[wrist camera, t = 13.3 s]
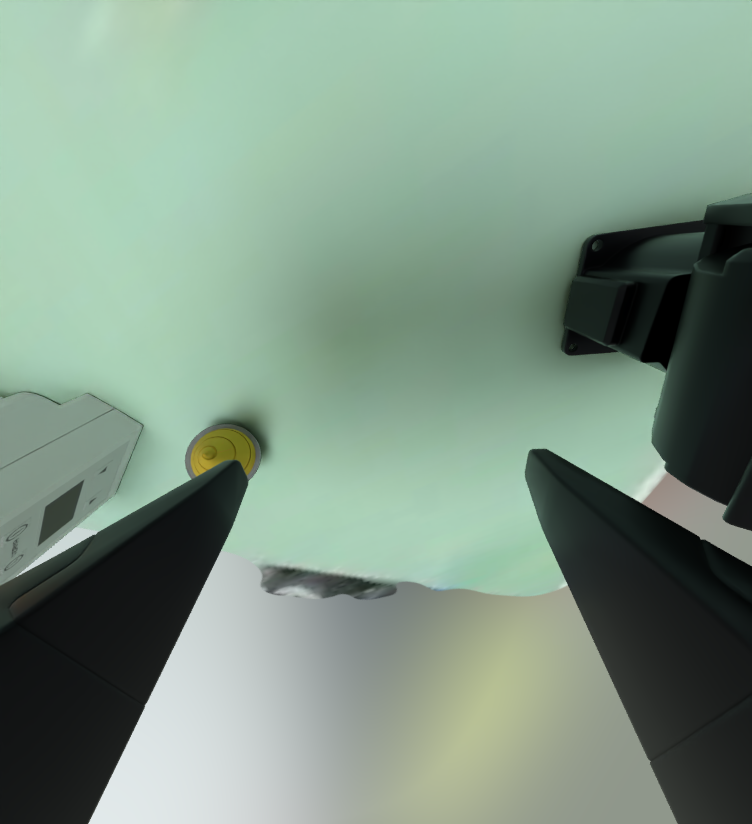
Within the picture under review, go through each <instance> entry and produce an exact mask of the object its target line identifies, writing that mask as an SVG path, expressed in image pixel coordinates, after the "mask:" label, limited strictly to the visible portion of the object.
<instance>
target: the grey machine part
mask: <svg viewBox="0 0 752 824" xmlns="http://www.w3.org/2000/svg"><path fill="white" fill-rule="evenodd" d="M142 427H143V425H141V424H140V423H138V422H136V421H135V420H133V419H131V418H130V417H128V416H127V415H125V414H123V413H122V412H120V411H118V410H117V409H114V408H113V407H111V406H110V405H108V404H106V403H104V402H102V401H101V400H99V399H97V398H95V397H93V396H91V395H90V394H88V393H86V394H84V395H82V396H80V397H77V398H75V399H73V400H70V401H68V402H66V403H64V404H61V405H58V404H56V403H54V402H52V401H50V400H48V399H46V398H44V397H42V396H39V395H37V394H33V393H28V392H20V393H17V394H14V395H12V396H9V397H6V398H2V397H0V585H2V584H4V583H6V582H8V581H10V580H12V579H13V578H15V577H16V576H17V575H18V574H19V573H21V572H22V571H23V570H24V569H26V567H28V566H29V565H30V564H32V563H33V562H34V561H35V560H36V559H38V558H39V557H40V556H41V555H43V554H44V553H45V552H46V551H47V550H49V549H50V548H51V547H52V546H53V545H55V543H57V542H58V541H59V540H61V539H62V538H63V537H64V536H65V535H67V534H68V533H69V532H70V531H72V530H73V529H74V528H75V527H76V526H78V525H79V524H80V523H81V522H82V521H84V520H85V519H86V518H87V517H89V516H90V515H91V514H92V513H93V512H95V511H96V510H97V509H98V508H99V507H101V506H102V505H103V504H104V503H105V502H107V501H108V500H109V499H110V498H112V497H113V496H114V495H115V494H116V491H117V489H118V486H119V484H120V481H121V479H122V476H123V474H124V471H125V469H126V467H127V464H128V462H129V459H130V457H131V454H132V452H133V449H134V447H135V444H136V442H137V440H138V437H139V435H140V432H141V430H142Z"/></svg>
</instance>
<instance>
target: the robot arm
mask: <svg viewBox="0 0 752 824" xmlns="http://www.w3.org/2000/svg"><path fill="white" fill-rule="evenodd" d="M595 241H598V247H597V248H596V249H595V250H593V249H592V245H593V243H594V242H595ZM564 326H565V327H566V328H565V333H564V338H563V342H562V351H563V352H564V353H565V354H567V355H571V356H573V355H585V354H598V353H611V352H621V353H623V354H625V355H627V356H629V357H632V358H634V359H636V360H638V361H640V362H642V363H646V364H648V365H650V366H653V367H655V368H657V369H659V370H661V371H663V372H666V376H665V380H664V384H663V388H662V392H661V396H660V400H659V404H658V407H657V408H656V412H655V416H654V418H655V419H654V423H653V427H652V444H653V446H654V447H655V449H656V450H657V452H658V453H659V454H660V456H661V457H662V459H663V460H664V461H665V462H666V463H665V467H664V468H665V470H666V471H667V472H669V473H670V474H671V475H673V476H674V477H675V478H677V479H678V480H680V481H681V482H682V483H684V484H685V485H687V486H688V487H690V488H692V489H694V490H696V491H697V492H699V493H701V494H703V495H705V496H707V497H709V498H711V499H713V500H714V501H716V502H719V503H722V504H724V505H726V506H727V508H726V510H725V512H724V514H723V520H724V521H725V522H727V523H729V524H731V525H734V526H737V527H740V528H744V529H747V530H751V531H752V193H749V194H746V195H742V196H739V197H735V198H731V199H728V200H724V201H721V202H717V203H713V204H710V205H707V209H706V213H705V217H704V220H699V221H692V222H685V223H677V224H670V225H663V226H655V227H648V228H640V229H633V230H626V231H618V232H611V233H604V234H596V235H593V236H591V237H589V238H588V239H587V240H586V241H585V243H584V245H583V249H582V253H581V258H580V263H579V267H578V272H577V277H576V278H575V279H574V280H573V281H572V285H571V290H570V295H569V300H568V305H567V309H566V314H565V319H564ZM572 344H574V345H575V346H574V348H572V349H571V350H569V347H570V346H571V345H572ZM525 478H526V482H527V485H528V488H529V491H530V494H531V497H532V500H533V503H534V506H535V509H536V512H537V515H538V518H539V521H540V524H541V527H542V529H543V532H544V534H545V536H546V539H547V541H548V543H549V545H550V547H551V549H552V552H553V554H554V556H555V558H556V560H557V562H558V565H559V567H560V569H561V571H562V573H563V575H564V578H565V580H566V582H567V584H568V586H569V588H570V590H571V592H572V595H573V597H574V599H575V601H576V604H577V606H578V608H579V610H580V612H581V614H582V617H583V619H584V621H585V623H586V625H587V627H588V630H589V631H590V634H591V636H592V638H593V640H594V643H595V645H596V647H597V649H598V651H599V653H600V655H601V658H602V660H603V662H604V664H605V666H606V668H607V671H608V673H609V675H610V677H611V679H612V682H613V684H614V686H615V688H616V690H617V692H618V695H619V697H620V699H621V701H622V703H623V705H624V708H625V710H626V712H627V714H628V716H629V718H630V721H631V723H632V725H633V727H634V729H635V732H636V734H637V736H638V738H639V740H640V742H641V745H642V747H643V749H644V751H645V753H646V755H647V758H648V759H649V760H650V761H651V762H650V765H651V767H652V769H653V771H654V773H655V776H656V778H657V780H658V782H659V784H660V786H661V789H662V791H663V793H664V795H665V797H666V799H667V801H668V804H669V806H670V808H671V810H672V812H673V814H674V817H675V819H676V821H677V823H678V824H752V566H750V565H748V564H747V563H745V562H743V561H741V560H739V559H737V558H736V557H734V556H732V555H730V554H729V553H727V552H725V551H723V550H722V549H720V548H718V547H716V546H714V545H713V544H711V543H710V542H708V541H706V540H701V539H700V537H699V536H697V535H695V534H694V533H692V532H690V531H688V530H687V529H685V528H683V527H682V526H680V525H678V524H676V523H674V522H673V521H671V520H669V519H668V518H666V517H664V516H662V515H661V514H659V513H657V512H655V511H654V510H652V509H650V508H648V507H647V506H645V505H643V504H642V503H640V502H638V501H636V500H635V499H633V498H631V497H629V496H628V495H626V494H624V493H622V492H621V491H619V490H617V489H615V488H614V487H612V486H610V485H608V484H607V483H605V482H603V481H602V480H600V479H598V478H596V477H595V476H593V475H591V474H589V473H588V472H586V471H584V470H582V469H581V468H579V467H577V466H575V465H574V464H572V463H570V462H568V461H567V460H565V459H563V458H562V457H560V456H558V455H556V454H555V453H553V452H551V451H549V450H547V449H532V450H530V451H529V453H528V458H527V464H526V469H525ZM247 486H248V477H247V475H246V473H245V471H244V469H243V466H242V464H241V462H240V461H238V460H225V461H223V462H221V463H220V464H218V465H216V466H214V467H213V468H211V469H209V470H207V471H205V472H204V473H202V474H200V475H198V476H197V477H195V478H193V479H191V480H190V481H188V482H186V483H184V484H183V485H181V486H179V487H177V488H175V489H174V490H172V491H170V492H168V493H167V494H165V495H163V496H161V497H160V498H158V499H156V500H154V501H153V502H151V503H149V504H147V505H145V506H144V507H142V508H140V509H138V510H137V511H135V512H133V513H131V514H130V515H128V516H126V517H124V518H122V519H121V520H119V521H117V522H115V523H114V524H112V525H110V526H108V527H107V528H105V529H103V530H101V531H100V532H98V533H97V534H96V535H92V536H91V537H89V538H87V539H85V540H84V541H82V542H80V543H78V544H76V545H75V546H73V547H71V548H69V549H68V550H66V551H64V552H62V553H61V554H58V555H57V556H55V557H53V558H51V559H49V560H48V561H46V562H44V563H42V564H40V565H38V566H36V567H34V568H32V569H31V570H29V571H27V572H25V573H23V574H22V575H19V576H18V577H16V578H14V579H12V580H10V581H8V582H6V583H4V584H2V585H0V824H88V823H89V821H90V819H91V817H92V815H93V813H94V811H95V809H96V807H97V805H98V802H99V801H100V798H101V796H102V794H103V792H104V790H105V788H106V786H107V784H108V782H109V780H110V778H111V776H112V774H113V772H114V770H115V768H116V765H117V763H118V761H119V759H120V757H121V755H122V753H123V751H124V749H125V747H126V745H127V743H128V741H129V739H130V737H131V735H132V732H133V731H134V728H135V726H136V724H137V722H138V720H139V718H140V716H141V714H142V712H143V710H144V707H145V704H146V703H147V701H148V699H149V697H150V695H151V693H152V691H153V689H154V687H155V685H156V683H157V681H158V679H159V677H160V675H161V672H162V670H163V668H164V666H165V664H166V662H167V660H168V658H169V656H170V654H171V652H172V650H173V648H174V646H175V644H176V642H177V640H178V638H179V636H180V633H181V631H182V629H183V627H184V625H185V623H186V621H187V619H188V617H189V615H190V613H191V611H192V609H193V607H194V605H195V603H196V600H197V599H198V596H199V595H200V592H201V590H202V588H203V586H204V584H205V582H206V580H207V578H208V576H209V574H210V572H211V570H212V568H213V566H214V564H215V562H216V560H217V558H218V556H219V553H220V551H221V549H222V547H223V545H224V543H225V541H226V539H227V537H228V535H229V533H230V531H231V528H232V526H233V523H234V521H235V518H236V516H237V513H238V510H239V508H240V505H241V502H242V500H243V497H244V494H245V492H246V489H247Z"/></svg>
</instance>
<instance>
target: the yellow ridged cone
mask: <svg viewBox="0 0 752 824" xmlns="http://www.w3.org/2000/svg"><path fill="white" fill-rule="evenodd" d="M225 460H238V461H240V462H241V464H242V466H243V469H244V471H245V473H246V475H247V477H248V481H249V480H250V479H251V478H252V477H253V476H254V474H255V473H256V472H257V470H258V468H259V465H260V461H261V450H260V446H259V444H258V441H257V440H256V438H255V437H254V436H253V435H252V434H251V433H250V432H249V431H247V430H246V429H244V428H242V427H239V426H237V425H232V424H220V425H215V426H212V427H209V428H207V429H205V430H203V431H202V432H200V433H199V434H198V435H197V436H196V437H195V438H194V439H193V440H192V441H191V443H190V445H189V447H188V449H187V452H186V456H185V465H186V470H187V472H188V474H189V476H190V477H191V479H193V478H195V477H197V476H198V475H200V474H202V473H204V472H205V471H207V470H209V469H211V468H213V467H214V466H216V465H218V464H220V463H221V462H223V461H225Z"/></svg>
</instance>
